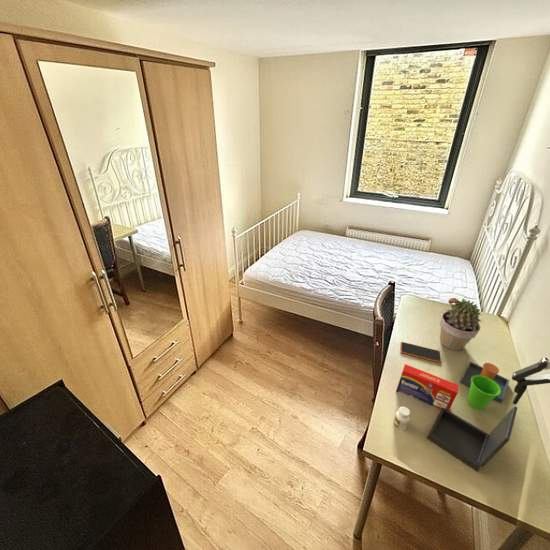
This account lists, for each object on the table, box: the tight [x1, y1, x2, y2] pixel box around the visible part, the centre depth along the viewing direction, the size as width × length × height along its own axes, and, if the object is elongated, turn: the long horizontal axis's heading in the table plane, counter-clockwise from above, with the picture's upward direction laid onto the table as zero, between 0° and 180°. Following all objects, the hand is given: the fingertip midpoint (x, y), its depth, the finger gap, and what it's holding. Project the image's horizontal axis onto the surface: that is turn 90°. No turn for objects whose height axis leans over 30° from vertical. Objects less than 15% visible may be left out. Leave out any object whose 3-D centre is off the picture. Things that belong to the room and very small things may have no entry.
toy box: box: [395, 363, 459, 411], centre depth 108 cm, size 18×4×12 cm, turn 58°
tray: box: [459, 361, 510, 404], centre depth 118 cm, size 14×13×2 cm
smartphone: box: [400, 341, 442, 364], centre depth 132 cm, size 8×17×1 cm, turn 69°
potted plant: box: [439, 297, 484, 352], centre depth 132 cm, size 18×20×25 cm
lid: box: [480, 405, 518, 468], centre depth 87 cm, size 15×14×1 cm
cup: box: [466, 375, 501, 411], centre depth 106 cm, size 9×9×11 cm
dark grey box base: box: [426, 407, 490, 473], centre depth 96 cm, size 15×14×3 cm
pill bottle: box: [393, 406, 411, 431], centre depth 100 cm, size 4×4×8 cm
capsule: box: [480, 362, 500, 380], centre depth 116 cm, size 5×5×8 cm
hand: (545, 417), depth 78 cm, fingers open, 13 cm apart
